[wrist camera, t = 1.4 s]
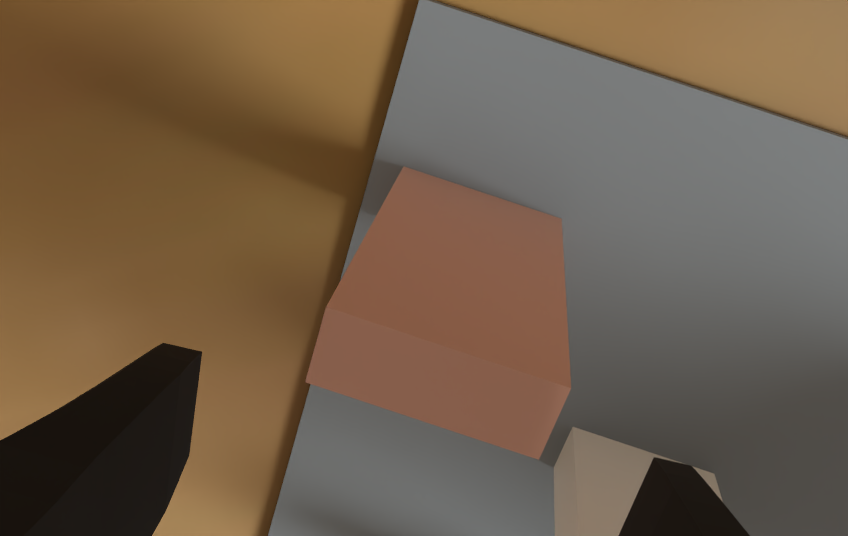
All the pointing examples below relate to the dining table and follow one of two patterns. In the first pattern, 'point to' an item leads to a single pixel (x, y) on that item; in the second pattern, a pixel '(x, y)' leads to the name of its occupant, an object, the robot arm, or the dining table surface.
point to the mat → (613, 291)
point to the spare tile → (453, 315)
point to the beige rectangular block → (600, 484)
